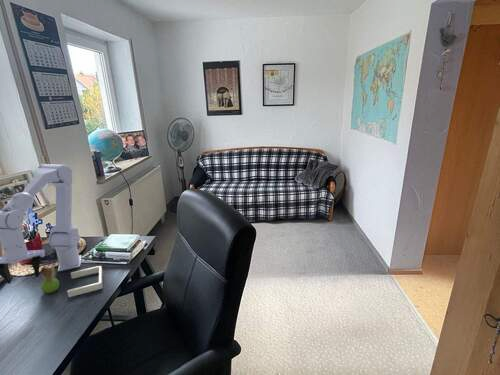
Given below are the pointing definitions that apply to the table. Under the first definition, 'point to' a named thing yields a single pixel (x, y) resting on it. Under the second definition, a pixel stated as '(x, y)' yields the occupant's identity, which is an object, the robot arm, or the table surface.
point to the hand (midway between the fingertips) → (24, 278)
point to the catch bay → (89, 287)
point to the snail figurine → (49, 280)
